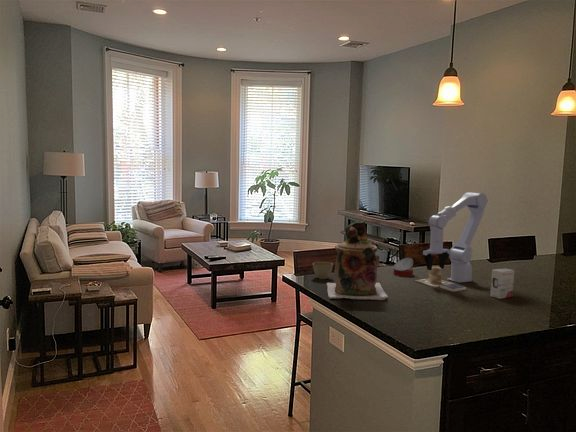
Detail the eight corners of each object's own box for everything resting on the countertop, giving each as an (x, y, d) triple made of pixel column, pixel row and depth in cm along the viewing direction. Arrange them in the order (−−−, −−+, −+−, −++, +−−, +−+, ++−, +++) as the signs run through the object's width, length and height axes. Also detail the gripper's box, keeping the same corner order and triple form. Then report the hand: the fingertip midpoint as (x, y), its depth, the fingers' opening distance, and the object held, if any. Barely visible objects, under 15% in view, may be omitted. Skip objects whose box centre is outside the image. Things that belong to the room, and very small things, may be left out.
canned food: (412, 284, 252) (417, 269, 247) (392, 282, 252) (397, 267, 247) (409, 270, 262) (414, 255, 256) (390, 268, 262) (394, 253, 256)
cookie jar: (325, 285, 227) (327, 216, 224) (379, 287, 226) (382, 217, 223) (328, 300, 202) (330, 222, 199) (389, 301, 202) (392, 223, 199)
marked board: (435, 279, 245) (435, 277, 245) (454, 284, 233) (455, 283, 233) (414, 281, 239) (414, 280, 239) (434, 287, 227) (434, 286, 227)
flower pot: (332, 276, 247) (333, 262, 246) (332, 280, 237) (333, 266, 236) (312, 275, 248) (313, 261, 247) (311, 279, 238) (312, 265, 237)
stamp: (437, 280, 239) (438, 266, 238) (441, 283, 234) (442, 268, 233) (427, 280, 238) (428, 266, 238) (431, 283, 233) (432, 268, 233)
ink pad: (452, 285, 231) (452, 283, 231) (465, 289, 224) (466, 286, 224) (439, 287, 227) (439, 284, 227) (452, 291, 220) (453, 288, 220)
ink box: (503, 294, 217) (505, 267, 216) (513, 297, 213) (515, 270, 212) (489, 296, 213) (491, 269, 212) (498, 299, 209) (500, 271, 208)
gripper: (441, 238, 241) (440, 266, 242) (419, 240, 234) (417, 268, 236) (452, 240, 235) (451, 269, 236) (429, 242, 228) (428, 271, 229)
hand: (435, 269), depth 235 cm, fingers open, 7 cm apart
